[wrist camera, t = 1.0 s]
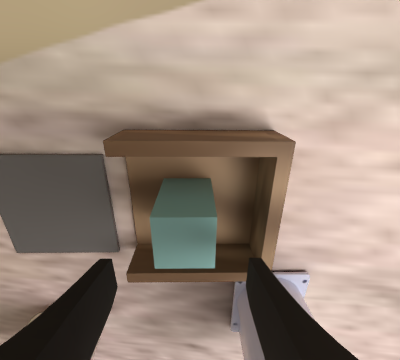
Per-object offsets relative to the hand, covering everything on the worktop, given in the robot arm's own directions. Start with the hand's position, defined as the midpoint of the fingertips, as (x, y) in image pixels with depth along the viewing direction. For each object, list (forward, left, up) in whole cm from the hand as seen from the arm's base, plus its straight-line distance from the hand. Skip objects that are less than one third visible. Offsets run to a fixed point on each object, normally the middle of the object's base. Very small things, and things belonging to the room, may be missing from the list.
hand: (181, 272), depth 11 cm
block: (0, 0, -8) cm, 8 cm away
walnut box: (0, -1, -9) cm, 9 cm away
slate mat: (-1, +12, -9) cm, 15 cm away
